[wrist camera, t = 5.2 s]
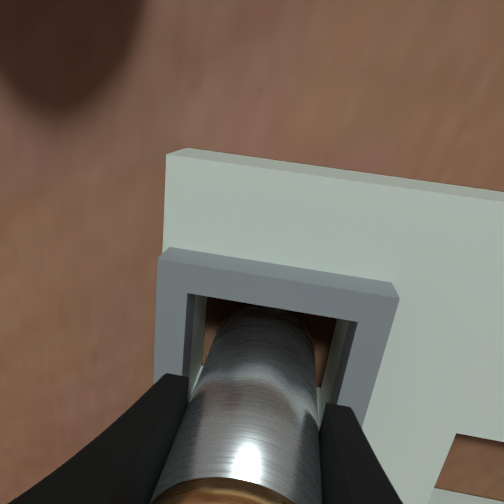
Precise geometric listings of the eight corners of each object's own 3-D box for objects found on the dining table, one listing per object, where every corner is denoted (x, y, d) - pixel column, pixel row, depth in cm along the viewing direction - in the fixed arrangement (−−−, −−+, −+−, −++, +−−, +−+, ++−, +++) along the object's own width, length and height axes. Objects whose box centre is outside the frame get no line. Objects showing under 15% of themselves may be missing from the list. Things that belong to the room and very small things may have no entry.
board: (793, 232, 11) (960, 273, 8) (563, 576, 17) (615, 669, 14) (186, 148, 12) (152, 158, 10) (167, 492, 18) (142, 562, 15)
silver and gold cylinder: (325, 317, 12) (350, 547, 6) (302, 399, 14) (303, 666, 7) (221, 295, 13) (133, 495, 6) (208, 379, 14) (123, 620, 7)
